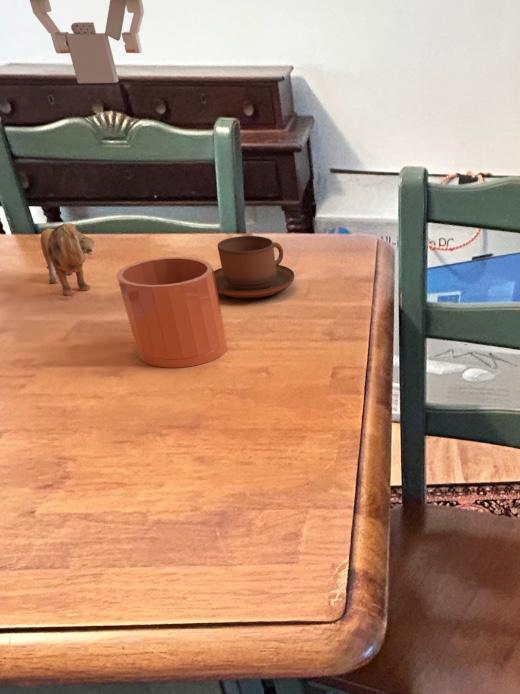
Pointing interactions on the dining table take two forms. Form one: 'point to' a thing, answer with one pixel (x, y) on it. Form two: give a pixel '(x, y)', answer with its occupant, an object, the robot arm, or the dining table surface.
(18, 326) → the dining table surface
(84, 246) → the lion figurine
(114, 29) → the lighter
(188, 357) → the terracotta-colored cup
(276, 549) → the dining table surface
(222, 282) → the cup and saucer
